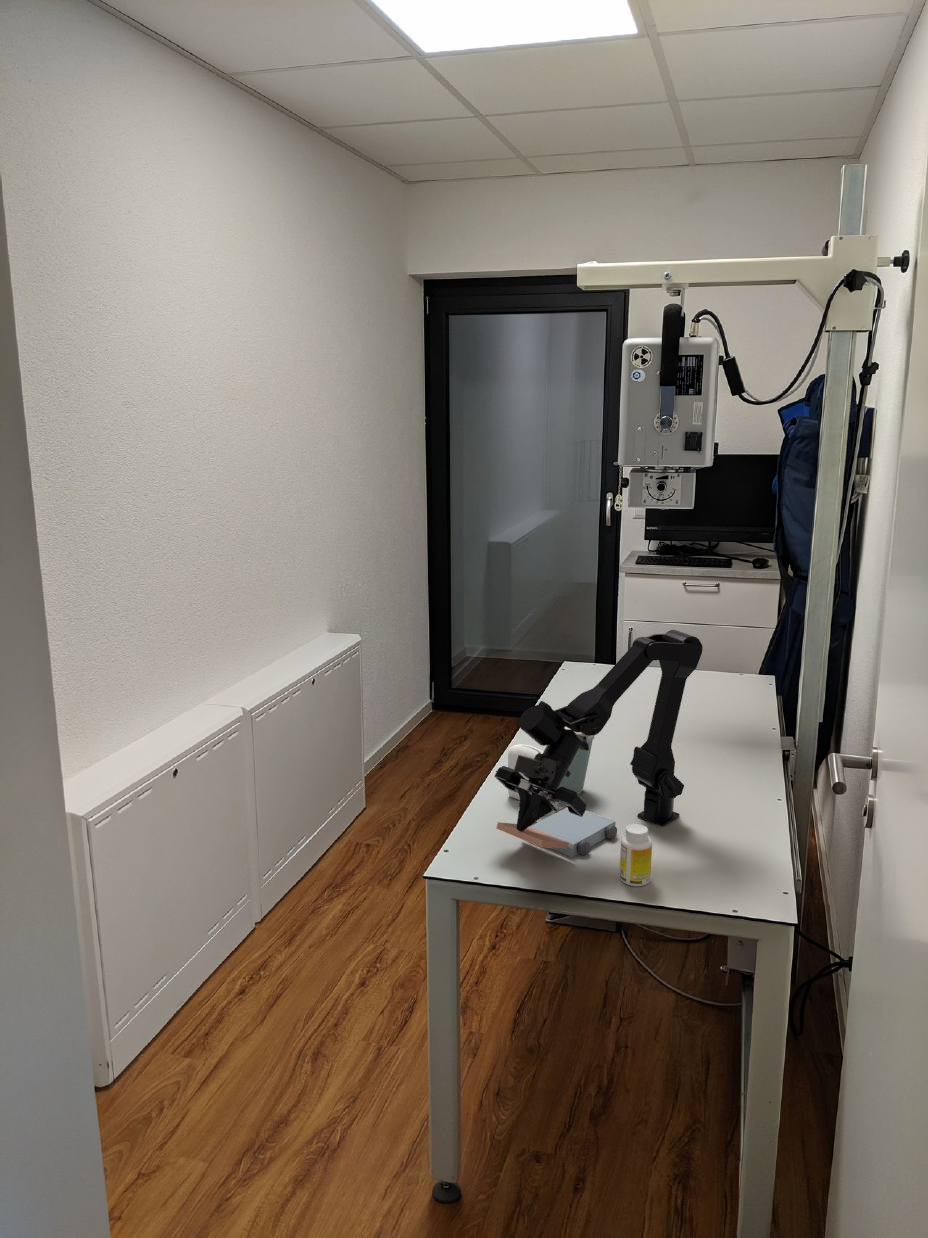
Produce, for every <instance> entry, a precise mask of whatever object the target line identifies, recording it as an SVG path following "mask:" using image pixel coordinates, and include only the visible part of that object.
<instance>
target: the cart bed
mask: <svg viewBox="0 0 928 1238" xmlns="http://www.w3.org/2000/svg"><path fill="white" fill-rule="evenodd" d="M556 809H557V810H556V812H555V813H554V814H551V815H550V816H547V817H545V818H543V819H542V820H540V821H536V822H534V823H533V824H532V825H530V826H529V827H532V828H534V829H537V830H539V831H542V832H544V833H547V834H549V835H552V836H554V837H557V838H559V839H562V840H564V841H567V842H569V843H571V844H573V845H574V848H573V849H570V848H568V849H564V848H550V849H552V850H555V852H559V853H560V854H564V855H566V856H568V857H571V858H574V857H575V856H577V855H579V854H580V855H581V856H586V855H587V854H589V851H590V850H591V847H593V846H595V845H596V844H598V843H600V842H601V841H604V840H605V839H609V840H613V839H615V837H616V836H617V833H618V828H617V826H616V821H615V820H613V819H611V818H609V817H605V816H602V815H600V814H597V813H594V812H593V811H589V810H587V809H586V811H585V813H584V814H583V816H582V817H580V816H577V815H575V814H572V813H570V812H569V810H568V806H567V807H564V806H562V805H560V806H558V807H556Z"/></svg>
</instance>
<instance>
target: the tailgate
mask: <svg viewBox="0 0 928 1238" xmlns="http://www.w3.org/2000/svg"><path fill="white" fill-rule="evenodd" d="M516 827H517V823H510V822H500V821H499V822H497V825H496V829H497V830H499V831H502V832H503V833H506V834H509V835H511V836H513V837H516V838H518V839H521V840H523V841H525V842H528V843H530V844H533V845H535V846H537V847H540V848H547V849H548V848H549V849H551V848H564V849H568V848H570V849H573V848H574V845H573V844H571V843H569V842H567V841H564V840H562V839H559V838H557V837H554V836H552V835H549V834H547V833H544V832H542V831H539V830H537V829H534V828H532V827H528V828H526V829H525V830H524V831H522V832H520V831H518V830H517V829H516Z"/></svg>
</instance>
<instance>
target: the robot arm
mask: <svg viewBox="0 0 928 1238" xmlns="http://www.w3.org/2000/svg"><path fill="white" fill-rule="evenodd" d="M702 654H703V644H702V642H701V639H700V638H698V637H697V636H693V635H691V634H688V633H685V632H682V631H680V630H677V629H670V630H668V631H666V632H665V633H657V634H656V633H655V634H650V635H649V636H639V637H636V638H635V639H634V641H632V645H631V646H630V648H629V649H628V650H627V651H626V652H625V653H624V654H623V655H622V657H620V659H618V661H617V662H616V663H615V664H614V665H613V666H612V668H611V669H610V670H609V671H608V672H606V674H605V675H604V677H603V678H602V679H601V680H600V681H599V682H598V683H597V684H596V685H595V686H594V687H593V688H591V689H588V690H586V691H584V692H581V693H579V695H578V696H576V697H575V698H573V700H571V701H570V702H569V703H568V704H567V705H565V706H562V707H561V708H557V709H553V708H552V706H551V705H550V704H549V703H547V702H545V701H544V700H540V701H539V703H537V704H535V705H532V706H530V707H529V708H528V709H526V710H524V712H523V713H522V714H521V716H520V718H519V722H518V727H519V729H520V730H522V731H523V732H524V733H525V734H526V735H528V736H529V737H530V738H531V739H532V740H533V741H535V742H536V743H537V744H538V745H540V746H541V747H542V746H544V747H545V748H544V750H543V754H541V753H538V754H536V756H535V758H534V759H533V758H529V757H525V756H521V755H518V758H517V761H516V765H515V768H514V769H511V768H509V767H508V766H505V765H503V766H500V767H499V768H498V769H497V771H496V772H495V774H494V778H495V779H496V780H497V781H498V782H499V783H501V785H503V786H504V787H505V788H506V789H507V790H508V789H509V790H511V791H514V792H517V793H519V797H520V800H519V807H518V808H519V810H518V814H517V815H518V816H517V821H516V824H517V827H516V829H517V830H518V831H520V832H522V831H524V830H525V829H526V828H528V827H529V826H530V825H532V824H533V823H534V822H538V820H540V819H541V818H543V817H545V816H546V815H548V814H550V813H551V812H556V810H557V805H558V803H560V804H563V805H566V806H567V807H568V810H569V812H570V813H572V814H575V815H577V816H580V817H582V816H583V814H584V813H585V811H586V810H587V802H586V801H585V800H584V799H583V797H582V796H581V795H580V794H578V793H577V792H575V791H573V790H570V789H567V788H564V787H560V788H559V786H560V784H561V782H562V780H563V778H564V777H568V778H569V776H570V774H571V773H570V772H569V771H568V769H569V767H570V765H571V763H572V761H573V759H574V757H575V755H576V754H577V752H578V750H579V749H581V750H586V751H588V750H589V745H588V743H587V740H586V736H581V735H577V734H576V733H575V732H581V733H583V734H585V735H588V736H591V735H594V736H596V735H599V733H601V732H602V730H603V729H604V728H605V727H606V724H607V723H608V722H609V720H610V718H611V717H612V714H613V713H612V712H613V709H614V707H615V704H616V703H617V701H618V700H619V699H620V698H621V697H622V696H623V694H625V692H626V691H627V690H628V689H629V688H630V687H631V686H632V685H633V683H634V682H635V681H636V680H637V679H639V677H640V676H641V674H642V673H643V672H644V671H645V670H646V669H647V668H648V667H649V666H650V664H651V663H652V662H653V661H658V662H659V666H660V670H661V676H660V681H659V685H658V689H657V693H656V694H657V695H656V697H655V699H656V700H655V704H654V708H653V711H652V712H653V713H652V717H651V721H650V725H649V731H648V735H647V738H646V740H645V742H644V743H643V744H642V745H641V746H635V747H634V749H633V756H632V759H631V762H630V764H629V765H630V766H631V772H632V774H633V775H634V777H635V778H636V780H637V782H638V785H641V786H642V787H644V788H645V791H644V800H643V810H641V812H638V813H637V817H638V818H639V819H642V820H645V821H648V822H651V823H653V824H656V825H659V826H666V825H667V824H670V823H671V822H672V821H674V820H675V819H678V818H679V817H680V813H679V812H676V811H674V803H675V802H674V801H675V800H674V799H676V798H677V796H681V795H682V794H683V791H684V788H685V785H684V783H683V782H682V781H680V780H679V779H678V777H677V776H676V775H675V769H676V768H675V766H676V760H675V757H674V752H673V748H672V745H673V741H674V740H673V739H674V735H675V731H676V727H677V722H678V719H679V713H680V708H681V704H682V702H683V701H682V700H683V695H684V691H685V686H686V683H687V679H688V678H689V677H690V676H691V675H692V673H693V672H694V671H695V670H696V669H697V667H698V665H699V661H700V660H701V657H702ZM565 726H566V727H567V728H569V729H565ZM570 729H571V730H570ZM519 772H521V773H523V775H524V776H525V777H527V778H529V780H526V779H525V778H524V777H523V776H522V775H521V774H520V773H519ZM533 787H535V788H537V789H535V788H533ZM544 791H545V792H544ZM546 792H548V793H546Z"/></svg>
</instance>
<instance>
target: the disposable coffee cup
mask: <svg viewBox="0 0 928 1238" xmlns="http://www.w3.org/2000/svg"><path fill="white" fill-rule="evenodd" d="M565 729H569V728H567V727H566V726H565ZM570 730H571V729H570ZM575 733H576V734H577V735H581V736H586V740H587V743H588V745H589V750H588V751H586V750H581V749H579V750H578V752H577V754H576V755H575V757H574V759H573V761H572V763H571V765H570V767H569V769H568V771H569V772H570V773H571V774H570V776H569V778H568V777H564V778H563V780H562V782H561V784H560V786H559V788H560V787H564V788H567V789H570V790H573V791H575V792H577V793H578V794H579V795H580V794H581V793H582V791H583V789H584V785H585V780H586V777H587V776H586V775H587V772H588V765H589V760H590V756H591V750H592V745H593V740H594V739H595V735H591V736H588V735H585V734H583V733H581V732H575Z"/></svg>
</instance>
